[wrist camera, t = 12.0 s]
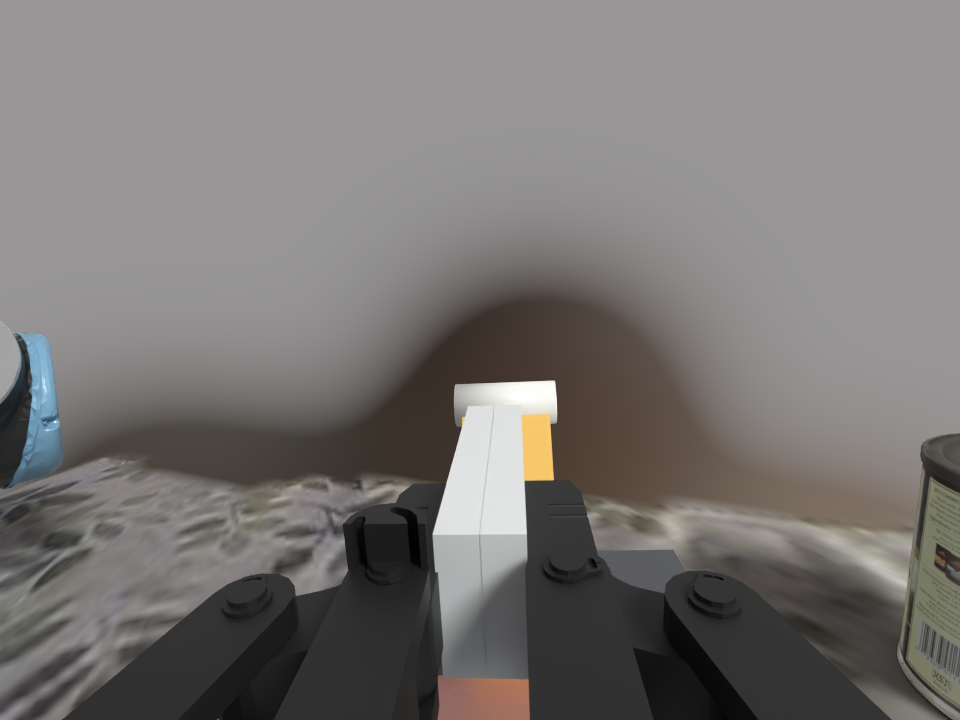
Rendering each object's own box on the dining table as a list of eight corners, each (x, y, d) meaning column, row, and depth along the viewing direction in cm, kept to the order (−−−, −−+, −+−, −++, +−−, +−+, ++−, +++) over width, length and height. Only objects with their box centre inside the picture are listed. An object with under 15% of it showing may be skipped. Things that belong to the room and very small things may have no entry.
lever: (571, 622, 30) (554, 375, 35) (452, 623, 31) (454, 379, 36) (567, 616, 33) (552, 387, 38) (459, 617, 33) (459, 391, 39)
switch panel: (776, 825, 24) (786, 698, 22) (273, 813, 26) (252, 694, 24) (672, 596, 39) (674, 513, 38) (364, 599, 41) (355, 519, 40)
